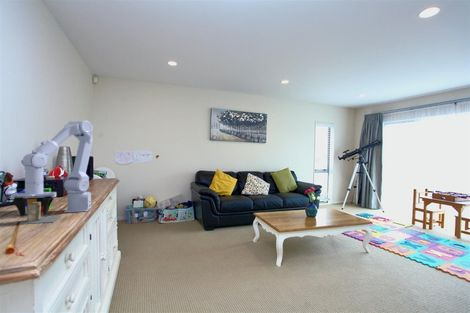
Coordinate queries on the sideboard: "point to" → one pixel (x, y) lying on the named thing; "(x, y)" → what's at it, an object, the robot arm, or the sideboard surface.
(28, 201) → the puzzle toy
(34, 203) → the tile
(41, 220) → the mat
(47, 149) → the robot arm
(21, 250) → the sideboard surface
